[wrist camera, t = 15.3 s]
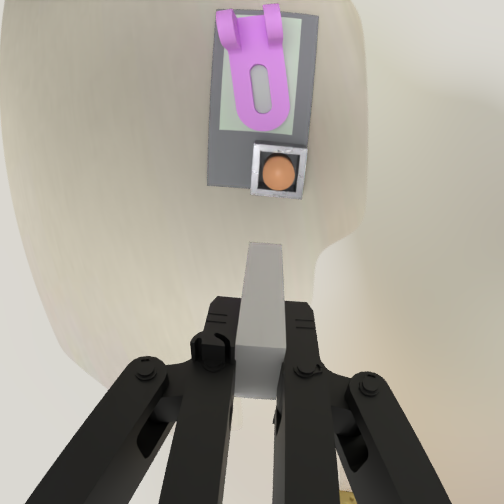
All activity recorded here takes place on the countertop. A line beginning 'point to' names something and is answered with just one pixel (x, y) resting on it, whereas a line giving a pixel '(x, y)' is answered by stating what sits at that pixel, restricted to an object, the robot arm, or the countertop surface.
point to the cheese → (347, 497)
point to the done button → (278, 171)
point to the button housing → (279, 147)
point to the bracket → (256, 63)
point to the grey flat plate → (260, 103)
